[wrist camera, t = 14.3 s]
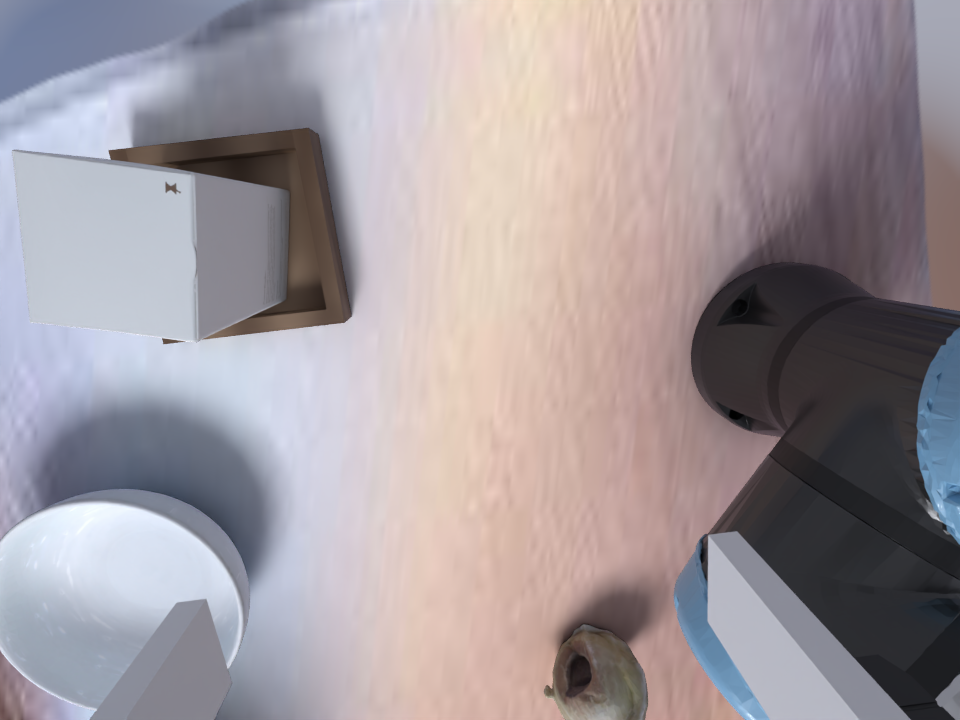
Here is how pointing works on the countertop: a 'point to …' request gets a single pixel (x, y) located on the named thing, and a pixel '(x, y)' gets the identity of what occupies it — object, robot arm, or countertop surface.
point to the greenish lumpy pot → (598, 678)
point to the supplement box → (147, 246)
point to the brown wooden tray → (311, 222)
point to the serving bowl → (110, 586)
